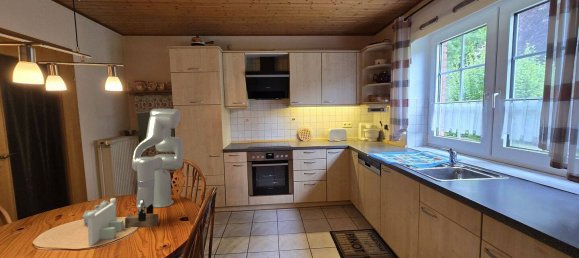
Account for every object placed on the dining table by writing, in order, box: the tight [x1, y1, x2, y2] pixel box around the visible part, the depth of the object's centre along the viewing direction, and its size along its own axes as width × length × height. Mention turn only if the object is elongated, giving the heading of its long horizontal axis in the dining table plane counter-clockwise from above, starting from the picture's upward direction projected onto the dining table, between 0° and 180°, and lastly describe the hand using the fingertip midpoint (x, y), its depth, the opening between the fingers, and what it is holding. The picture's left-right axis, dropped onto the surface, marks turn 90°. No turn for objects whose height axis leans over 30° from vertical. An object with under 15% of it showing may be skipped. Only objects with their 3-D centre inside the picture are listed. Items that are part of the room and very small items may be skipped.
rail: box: [124, 213, 160, 229], centre depth 127 cm, size 14×4×5 cm, turn 100°
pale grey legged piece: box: [87, 197, 124, 247], centre depth 117 cm, size 20×7×14 cm, turn 10°
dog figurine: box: [82, 200, 110, 227], centre depth 130 cm, size 5×13×11 cm, turn 147°
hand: (146, 217), depth 127 cm, fingers open, 9 cm apart
